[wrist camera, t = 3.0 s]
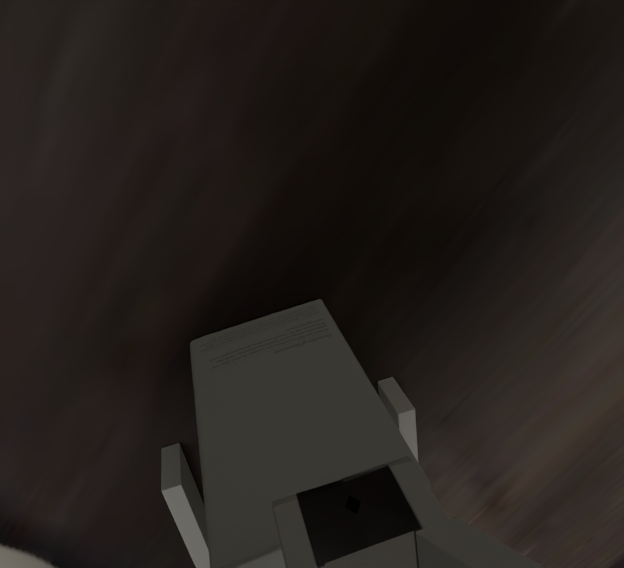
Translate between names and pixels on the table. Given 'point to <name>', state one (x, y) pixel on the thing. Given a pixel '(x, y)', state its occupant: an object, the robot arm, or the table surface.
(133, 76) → the table surface
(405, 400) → the bay
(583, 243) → the table surface
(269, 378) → the supplement box
